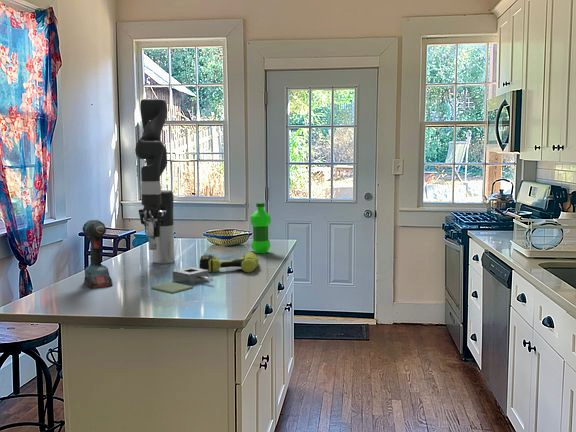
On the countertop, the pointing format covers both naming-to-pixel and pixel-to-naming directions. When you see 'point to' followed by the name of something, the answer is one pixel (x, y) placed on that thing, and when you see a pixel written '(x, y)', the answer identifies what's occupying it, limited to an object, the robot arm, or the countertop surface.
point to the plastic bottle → (260, 229)
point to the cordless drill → (229, 262)
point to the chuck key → (151, 235)
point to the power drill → (96, 256)
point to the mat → (172, 287)
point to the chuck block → (191, 275)
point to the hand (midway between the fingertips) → (152, 236)
